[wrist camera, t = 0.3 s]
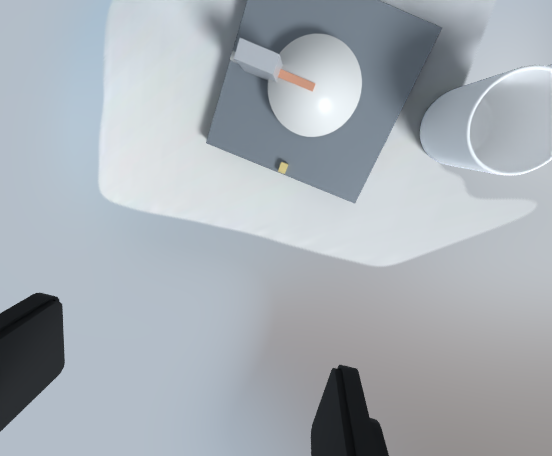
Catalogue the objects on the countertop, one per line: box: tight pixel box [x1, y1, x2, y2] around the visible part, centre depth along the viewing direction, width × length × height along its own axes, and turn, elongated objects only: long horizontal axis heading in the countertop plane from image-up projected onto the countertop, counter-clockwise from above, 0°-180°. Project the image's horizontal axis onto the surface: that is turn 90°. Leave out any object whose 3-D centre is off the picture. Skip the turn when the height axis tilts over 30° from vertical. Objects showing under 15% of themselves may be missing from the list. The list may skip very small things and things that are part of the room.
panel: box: [206, 0, 442, 203], centre depth 32 cm, size 20×20×3 cm
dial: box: [234, 34, 362, 137], centre depth 29 cm, size 13×10×5 cm
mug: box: [420, 64, 552, 175], centre depth 28 cm, size 9×12×11 cm
